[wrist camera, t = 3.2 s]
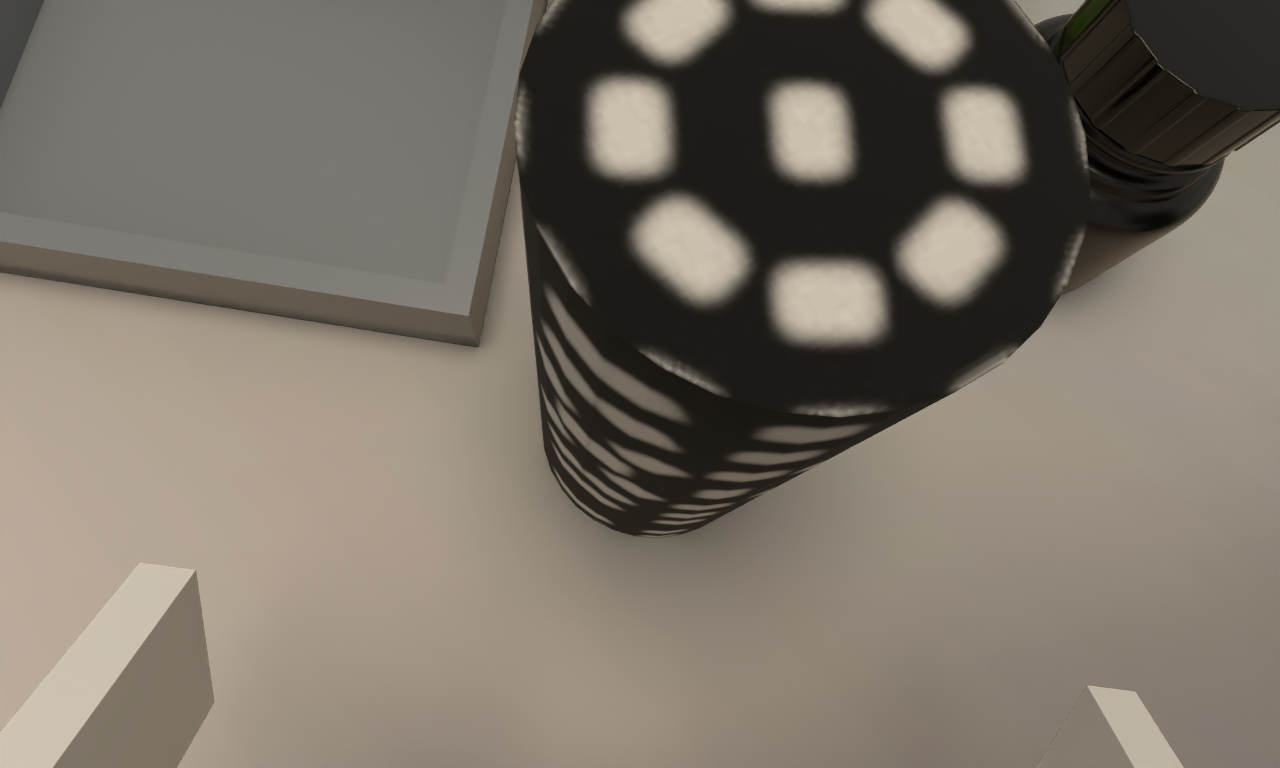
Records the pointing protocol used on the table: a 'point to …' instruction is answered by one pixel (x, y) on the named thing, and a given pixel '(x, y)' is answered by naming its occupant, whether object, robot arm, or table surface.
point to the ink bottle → (1162, 108)
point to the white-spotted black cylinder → (778, 231)
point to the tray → (265, 153)
